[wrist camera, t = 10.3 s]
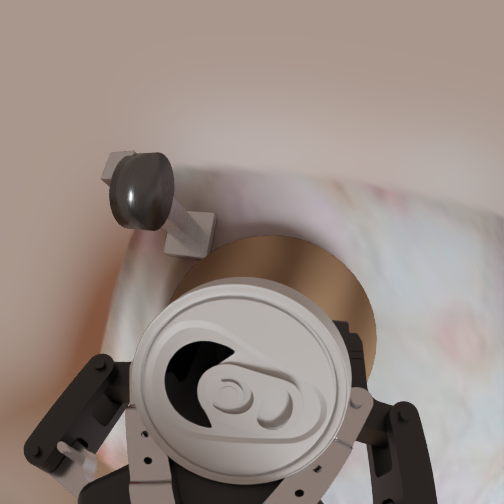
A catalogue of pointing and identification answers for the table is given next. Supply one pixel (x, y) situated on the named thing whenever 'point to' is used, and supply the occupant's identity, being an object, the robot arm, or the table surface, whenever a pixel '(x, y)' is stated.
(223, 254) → the disc
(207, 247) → the stand
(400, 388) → the table surface
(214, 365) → the beverage can
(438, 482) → the table surface
